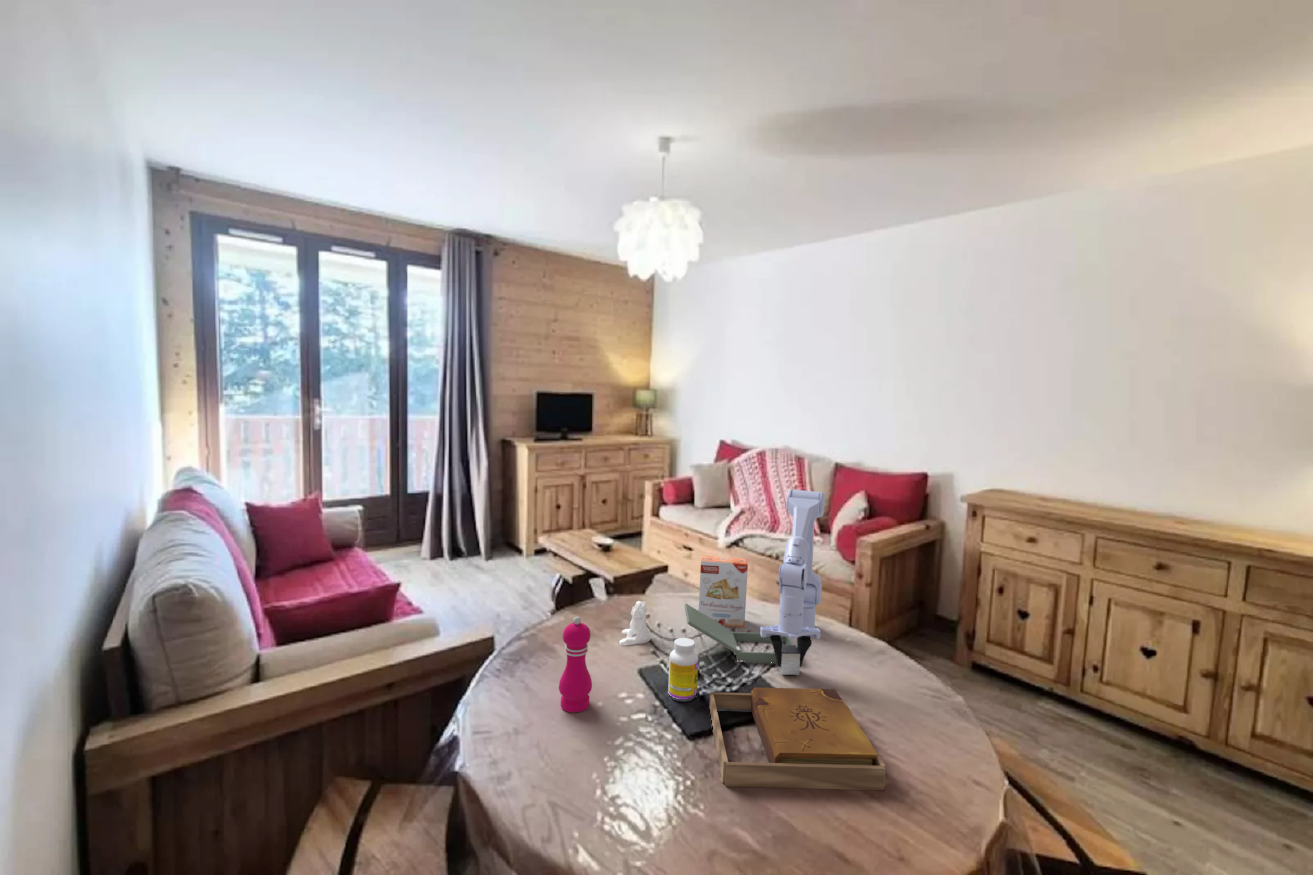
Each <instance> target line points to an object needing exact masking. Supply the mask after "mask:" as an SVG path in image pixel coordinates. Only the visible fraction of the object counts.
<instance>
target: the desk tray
mask: <svg viewBox="0 0 1313 875" xmlns="http://www.w3.org/2000/svg"><path fill="white" fill-rule="evenodd" d="M710 692H711V691H710ZM841 699H842V700H843V702H844V703H845V705H846V707H847V708H848V710H849V711H850V713H851V714H852V716H853V717H854V719H855V720H856V722H857V723H858V725H859V726H860V728H861V729H862V731H863V733H864V734H865V736H866V737H867V739H868V740H869V742H870V743H871V745H872V746H873V748H874V749H875V747H874V745H873V743H872V742H871V741H870V739H869V738H868V736H867V734H866V732H864V730H863V728H862V726H861V724H859V722H858V721H857V718H856V717H855V716H854V714H853V712H852V711H851V709H850V708H849V707H848V705H847V703H846V701H845V700H844V699H843V697H841ZM751 701H752V695H751V692H744V693H743V692H714V691H713V692H711V693H710V694H709V703H708V704H709V706H708V710H709V709H710V714H711V719H710V721H711V720H712V724H711V727H712V726H713V730H712V733H713V739H714V744H715V746H714V747H715V751H716V755H717V761H718V768H719V772H720V777H721V782H722V784H724V785H725V787H726V788H727V787H728V788H729V787H732V788H734V787H735V788H768V789H770V788H774V789H778V788H779V789H809V790H810V789H815V790H817V789H818V790H850V791H851V790H854V791H855V790H856V791H858V790H859V791H863V790H864V791H885V783H886V767H887V766H886V764H885V763H884V761H883V760H882V758H881V756H880V755H879V753H878V751H877V750H876V749H875V751H876V752H877V754H878V759H873V761H872V766H870V765H830V764H790V763H769V762H745V761H743V762H739V761H738V762H737V761H729V760H728V755H727V751H726V746H725V742H724V741H725V740H724V736H723V732H722V728H721V724H720V718H719V714H718V713H719V712H717V708H726V709H728V708H729V709H743V710H751ZM710 714H709V715H710Z"/></svg>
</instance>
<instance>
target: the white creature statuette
mask: <svg viewBox="0 0 1313 875" xmlns="http://www.w3.org/2000/svg"><path fill="white" fill-rule="evenodd" d="M647 611H648V606H647V602H646V601H645V600H644V601H641V600H638V601H636V602H635V604H634V606H632V607H631V612H630V615H631V621H630V623H629V628H625V629H623V630H622V631H621V634H622V635H625V636H626V637H624V638H622V639H620V640H619V642H618V643H619V645H620V646H622V647H624V646H625V647H627V646H635V645H639V644H640V645H641V644H646V643H649V641H650V640H651V639H652V633H651V630H650V629H649V627H648V626H647V622H646V621H647V620H646V618H645V616H646V613H647Z"/></svg>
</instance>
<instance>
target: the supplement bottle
mask: <svg viewBox="0 0 1313 875" xmlns="http://www.w3.org/2000/svg"><path fill="white" fill-rule="evenodd" d="M695 644H696V643H695V641H694V640H693V639H691V638H689V637H688V638H687V637H679V638H676V639H675V640H674V642H673V647H674V649H672V651H670V654H669V658H668V659H669V663H668V664H669V665H668V688H667V694H669V695H670V696H672V697H673V698H676V699H688V698H691V697H693V696H694V695H696V693H697V694H698V679H699V678H698V677H699V656H698V653H697V652H696V651H695ZM669 695H668V696H669Z"/></svg>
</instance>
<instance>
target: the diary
mask: <svg viewBox="0 0 1313 875" xmlns="http://www.w3.org/2000/svg"><path fill="white" fill-rule="evenodd" d="M750 693H751V695H752V701H751V711H752V713H751V714H752V717H753V720H754V722H755V726H756V728H757V731H758V734H759V738H760V740H761V743H762V746H763V750H764V751H765V755H766V758H767V761H768V763H790V764H830V765H870V766H872V761H873V759H878V755H879V753H878V751H877V750H876V749H874V748H875V747H874V745H873V744H872V742H871V741H870V739H869V738H868V739H869V740H868V739H867V737H868V736H867V735H866V736H867V737H866V736H865V734H866V733H865V732H864V733H865V734H864V733H863V731H864V730H863V728H862V727H861V725H860V724H859V725H860V726H859V725H858V723H859V722H858V721H857V722H858V723H857V722H856V720H857V719H856V718H855V719H856V720H855V719H854V717H855V716H854V715H853V716H854V717H853V716H852V714H853V713H852V712H851V713H852V714H851V713H850V711H851V710H850V711H849V710H848V708H849V707H848V708H847V707H846V705H847V704H846V705H845V703H846V702H845V701H844V702H845V703H844V702H843V700H844V699H843V698H842V697H841V695H840V694H839V692H838V691H837V690H836V689H835V688H802V687H801V688H798V687H796V688H795V687H794V688H793V687H791V688H787V687H784V688H783V687H754V688H752V690H751V691H750ZM841 698H842V699H843V700H842V699H841ZM860 727H861V728H862V729H861V728H860ZM862 730H863V731H862ZM869 741H870V742H871V743H870V742H869ZM871 744H872V745H873V746H872V745H871ZM873 747H874V748H873ZM875 750H876V751H877V752H876V751H875ZM877 753H878V754H877Z"/></svg>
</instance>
